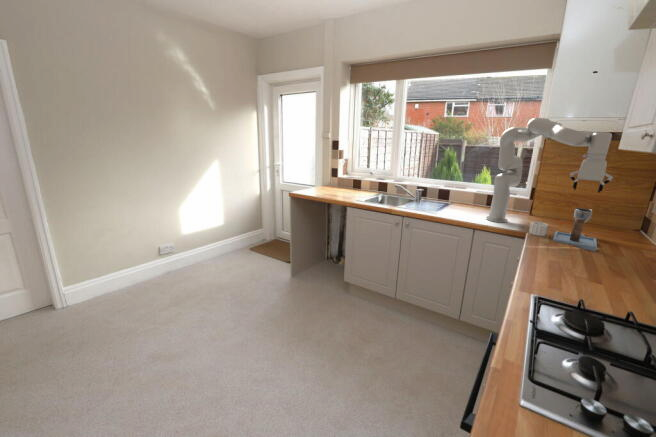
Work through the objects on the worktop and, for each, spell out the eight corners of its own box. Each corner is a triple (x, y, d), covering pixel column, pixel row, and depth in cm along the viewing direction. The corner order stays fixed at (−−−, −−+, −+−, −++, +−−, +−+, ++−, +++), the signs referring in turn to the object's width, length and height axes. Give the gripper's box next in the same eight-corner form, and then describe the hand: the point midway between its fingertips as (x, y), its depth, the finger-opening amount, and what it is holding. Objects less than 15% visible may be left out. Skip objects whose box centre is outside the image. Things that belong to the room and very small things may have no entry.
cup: (525, 232, 179) (528, 221, 177) (538, 233, 179) (541, 221, 177) (534, 237, 171) (537, 225, 169) (548, 237, 171) (551, 225, 169)
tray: (552, 242, 163) (553, 238, 163) (554, 234, 177) (555, 231, 176) (595, 251, 152) (597, 247, 152) (595, 242, 166) (596, 238, 165)
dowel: (567, 238, 166) (573, 217, 163) (574, 239, 166) (580, 218, 163) (573, 241, 162) (579, 220, 159) (580, 241, 162) (586, 220, 159)
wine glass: (570, 234, 178) (576, 210, 173) (567, 231, 184) (573, 207, 180) (587, 237, 174) (594, 212, 170) (583, 233, 181) (590, 209, 177)
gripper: (573, 156, 155) (565, 189, 160) (619, 159, 144) (608, 194, 149) (574, 155, 160) (566, 187, 165) (618, 158, 150) (608, 192, 155)
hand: (586, 190), depth 157 cm, fingers open, 9 cm apart
